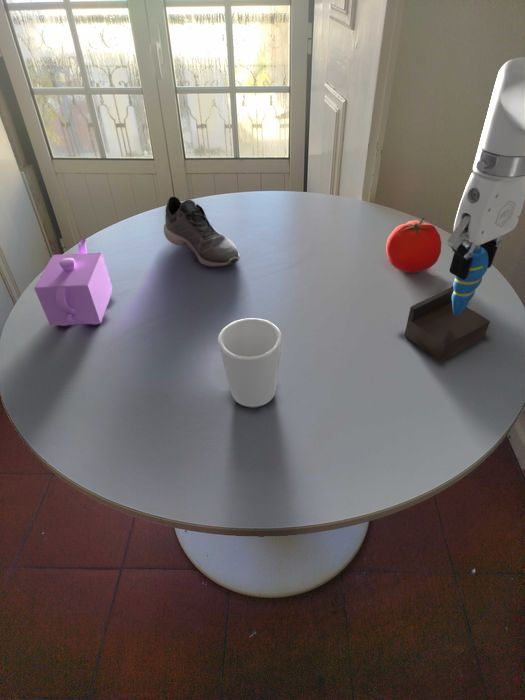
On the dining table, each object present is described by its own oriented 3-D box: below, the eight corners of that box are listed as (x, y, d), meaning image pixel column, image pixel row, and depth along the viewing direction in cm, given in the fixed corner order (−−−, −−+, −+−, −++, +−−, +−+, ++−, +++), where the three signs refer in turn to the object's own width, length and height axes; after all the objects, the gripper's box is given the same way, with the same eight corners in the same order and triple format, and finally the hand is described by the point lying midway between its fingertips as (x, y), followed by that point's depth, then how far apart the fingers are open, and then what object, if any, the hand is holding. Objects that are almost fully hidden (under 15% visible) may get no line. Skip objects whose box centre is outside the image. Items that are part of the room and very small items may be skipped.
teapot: (99, 337, 93) (81, 284, 84) (49, 339, 93) (25, 287, 84) (119, 280, 108) (105, 231, 99) (75, 282, 108) (58, 233, 99)
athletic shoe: (216, 279, 107) (210, 231, 99) (160, 238, 122) (151, 193, 114) (251, 263, 111) (248, 216, 103) (192, 225, 126) (186, 182, 118)
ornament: (439, 320, 84) (459, 246, 74) (442, 304, 88) (462, 231, 78) (469, 326, 83) (494, 251, 73) (471, 309, 86) (496, 236, 76)
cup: (244, 366, 85) (240, 310, 77) (292, 385, 82) (293, 328, 73) (213, 402, 79) (205, 346, 71) (263, 424, 75) (261, 368, 67)
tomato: (431, 255, 111) (441, 211, 104) (440, 282, 103) (452, 237, 95) (380, 254, 112) (386, 210, 105) (384, 281, 104) (392, 236, 96)
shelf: (484, 337, 89) (495, 307, 84) (440, 362, 85) (449, 332, 80) (447, 313, 95) (455, 284, 90) (404, 335, 90) (410, 306, 86)
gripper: (486, 184, 61) (452, 298, 73) (564, 154, 67) (521, 263, 79) (441, 166, 66) (416, 276, 78) (518, 140, 72) (484, 245, 84)
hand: (470, 268), depth 79 cm, fingers closed on ornament, 5 cm apart
